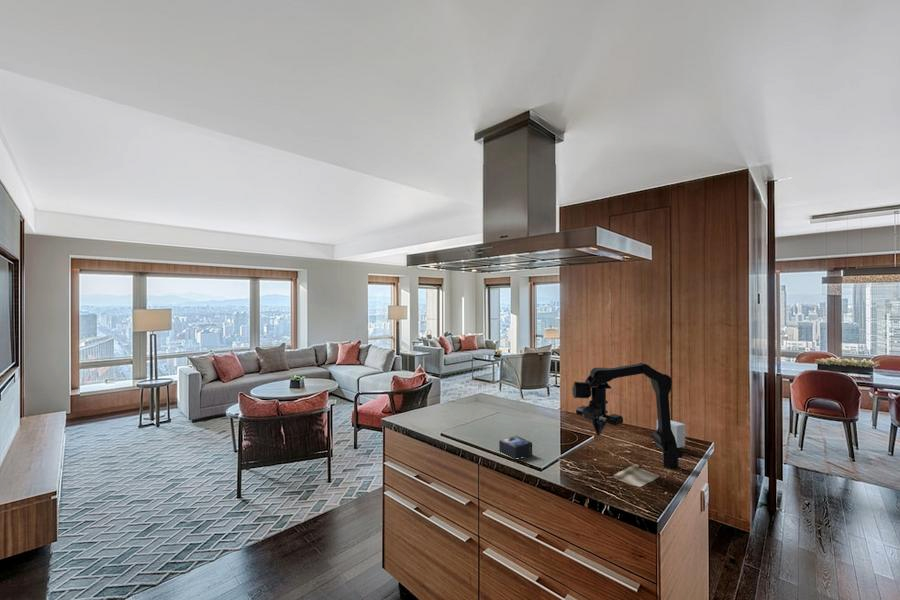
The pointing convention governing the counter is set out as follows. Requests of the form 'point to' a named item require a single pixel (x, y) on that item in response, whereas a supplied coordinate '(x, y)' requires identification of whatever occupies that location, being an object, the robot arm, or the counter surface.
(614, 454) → the counter surface
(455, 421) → the counter surface
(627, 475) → the board
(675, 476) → the counter surface
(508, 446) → the small box
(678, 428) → the skincare box
